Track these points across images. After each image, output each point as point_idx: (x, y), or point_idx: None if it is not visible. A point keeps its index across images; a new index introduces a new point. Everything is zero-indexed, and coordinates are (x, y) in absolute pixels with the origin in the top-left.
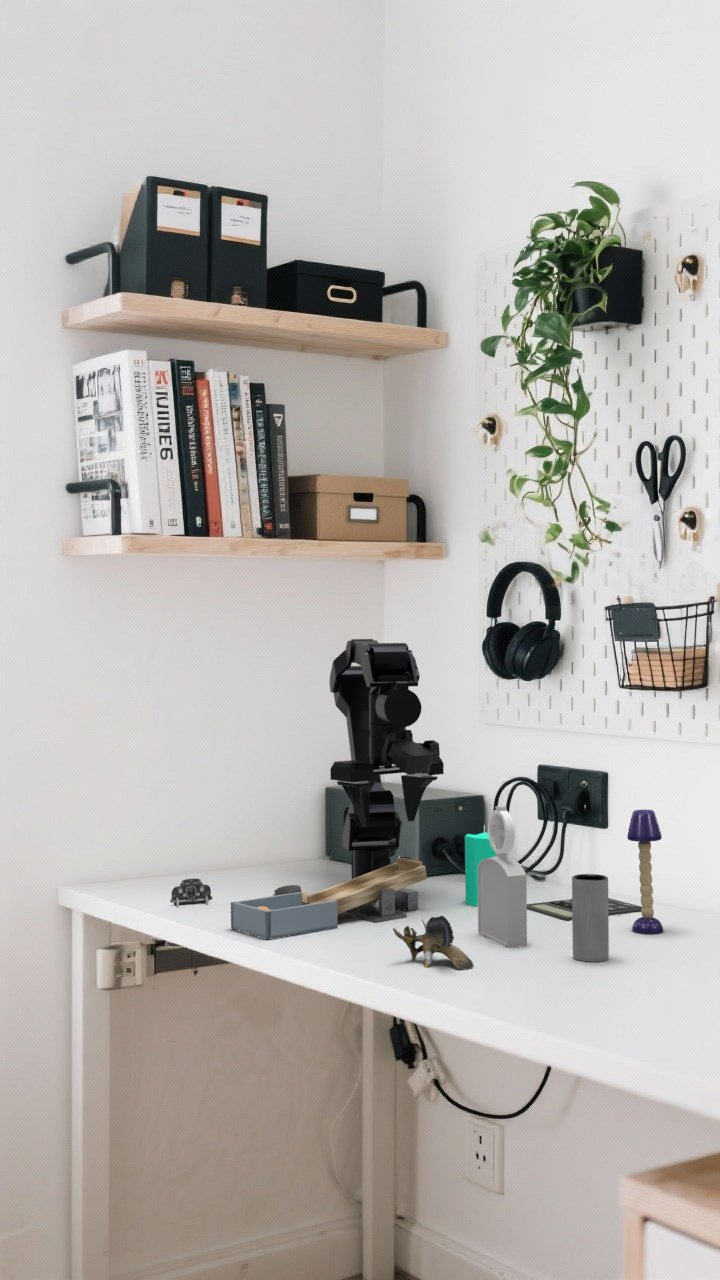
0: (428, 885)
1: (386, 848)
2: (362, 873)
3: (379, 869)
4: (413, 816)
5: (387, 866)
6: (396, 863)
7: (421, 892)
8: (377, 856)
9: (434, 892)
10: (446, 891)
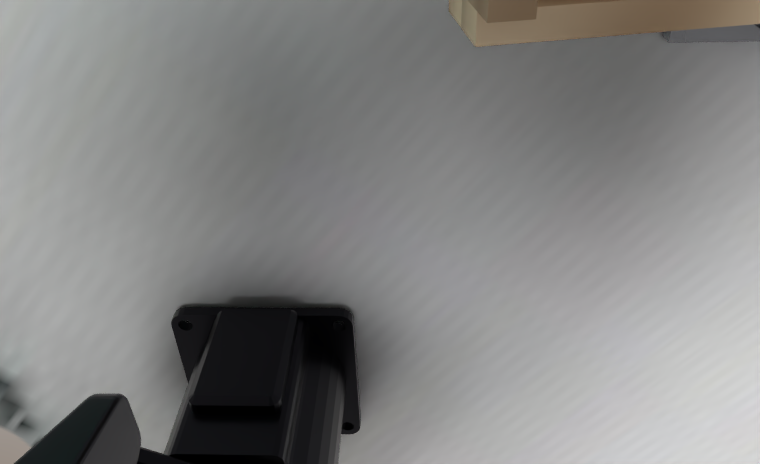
0: (35, 242)
1: (188, 462)
2: (333, 398)
3: (722, 4)
4: (85, 431)
5: (633, 11)
6: (539, 9)
7: (152, 138)
8: (266, 428)
9: (88, 96)
10: (13, 77)
